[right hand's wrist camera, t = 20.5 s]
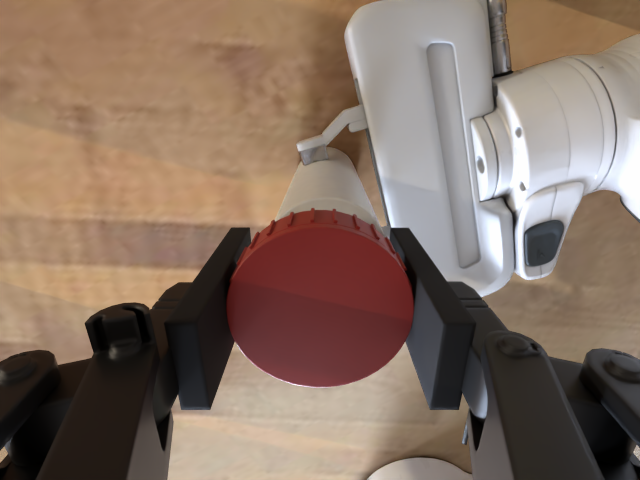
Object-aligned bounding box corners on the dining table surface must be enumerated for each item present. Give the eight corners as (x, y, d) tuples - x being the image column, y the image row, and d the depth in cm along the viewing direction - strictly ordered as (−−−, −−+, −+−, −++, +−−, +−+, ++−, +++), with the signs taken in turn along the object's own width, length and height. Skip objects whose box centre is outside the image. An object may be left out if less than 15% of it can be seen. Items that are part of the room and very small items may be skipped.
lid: (219, 330, 13) (205, 363, 11) (260, 182, 11) (250, 196, 9) (366, 371, 14) (372, 407, 12) (432, 239, 11) (450, 261, 10)
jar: (356, 146, 29) (399, 207, 12) (354, 205, 31) (390, 330, 14) (295, 147, 29) (252, 208, 12) (297, 206, 31) (263, 330, 14)
